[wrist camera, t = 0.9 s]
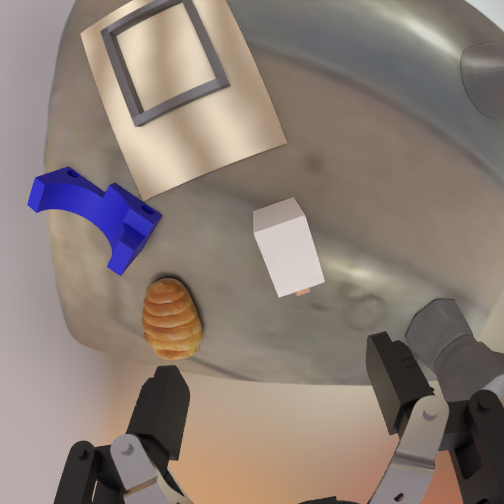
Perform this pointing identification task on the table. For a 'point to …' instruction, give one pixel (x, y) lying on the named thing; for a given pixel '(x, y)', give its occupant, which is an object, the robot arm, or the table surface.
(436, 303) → the coffeepot
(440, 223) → the table surface
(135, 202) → the cable clip
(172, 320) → the pastry
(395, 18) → the table surface
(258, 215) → the keyed plug
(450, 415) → the robot arm
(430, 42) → the table surface
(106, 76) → the board
